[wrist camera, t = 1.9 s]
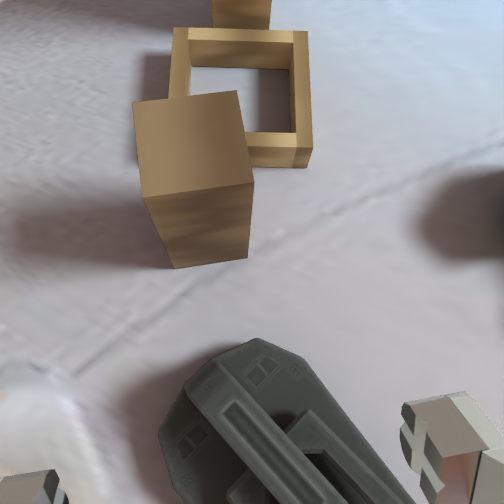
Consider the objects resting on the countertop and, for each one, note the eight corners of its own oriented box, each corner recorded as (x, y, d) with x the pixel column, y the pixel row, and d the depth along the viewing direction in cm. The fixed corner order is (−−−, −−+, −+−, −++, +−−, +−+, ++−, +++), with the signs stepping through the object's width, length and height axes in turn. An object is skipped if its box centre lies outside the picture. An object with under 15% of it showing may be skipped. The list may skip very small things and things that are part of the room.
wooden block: (174, 269, 27) (141, 197, 18) (166, 202, 28) (132, 102, 19) (247, 258, 27) (254, 182, 18) (235, 192, 29) (236, 90, 19)
